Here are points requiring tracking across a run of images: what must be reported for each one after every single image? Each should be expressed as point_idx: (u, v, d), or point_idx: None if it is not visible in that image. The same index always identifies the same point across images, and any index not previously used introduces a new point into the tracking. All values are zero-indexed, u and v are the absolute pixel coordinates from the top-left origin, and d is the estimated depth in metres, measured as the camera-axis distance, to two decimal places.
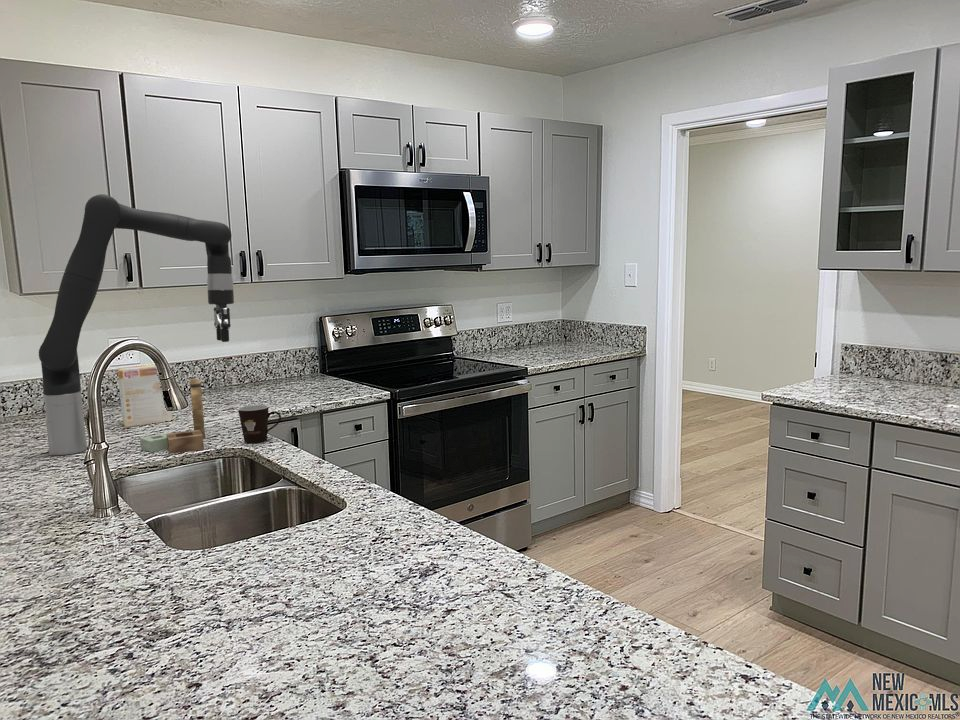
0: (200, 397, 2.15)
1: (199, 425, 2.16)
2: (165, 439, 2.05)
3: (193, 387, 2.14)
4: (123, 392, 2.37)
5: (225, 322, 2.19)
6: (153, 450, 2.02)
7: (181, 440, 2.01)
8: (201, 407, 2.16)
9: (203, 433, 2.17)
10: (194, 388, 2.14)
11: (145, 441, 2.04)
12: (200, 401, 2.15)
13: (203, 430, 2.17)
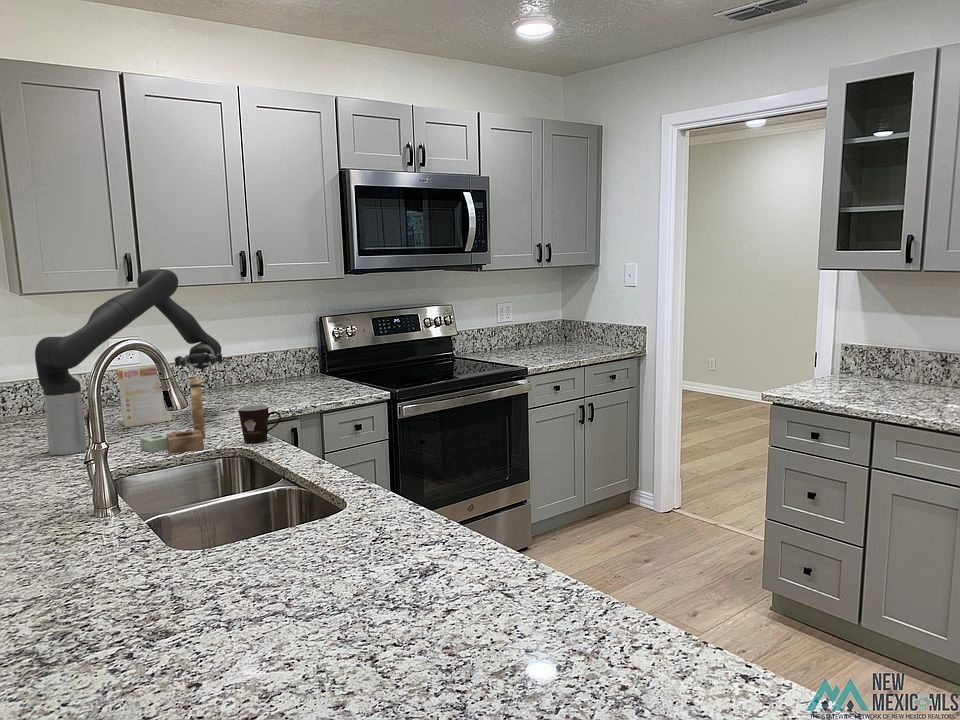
0: (200, 397, 2.15)
1: (199, 425, 2.16)
2: (165, 439, 2.05)
3: (193, 387, 2.14)
4: (123, 392, 2.37)
5: (211, 360, 2.32)
6: (153, 450, 2.02)
7: (181, 440, 2.01)
8: (201, 407, 2.16)
9: (203, 433, 2.17)
10: (194, 388, 2.14)
11: (145, 441, 2.04)
12: (200, 401, 2.15)
13: (203, 430, 2.17)
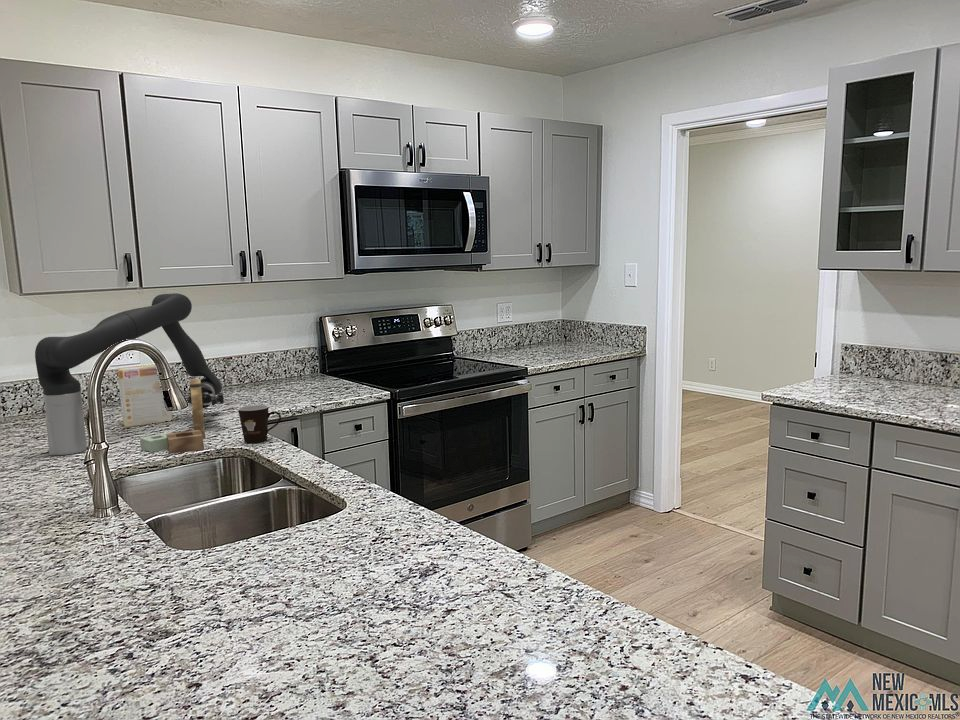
0: (200, 397, 2.15)
1: (199, 425, 2.16)
2: (165, 439, 2.05)
3: (193, 387, 2.14)
4: (123, 392, 2.37)
5: (212, 400, 2.28)
6: (153, 450, 2.02)
7: (181, 440, 2.01)
8: (201, 407, 2.16)
9: (203, 433, 2.17)
10: (194, 388, 2.14)
11: (145, 441, 2.04)
12: (200, 401, 2.15)
13: (203, 430, 2.17)
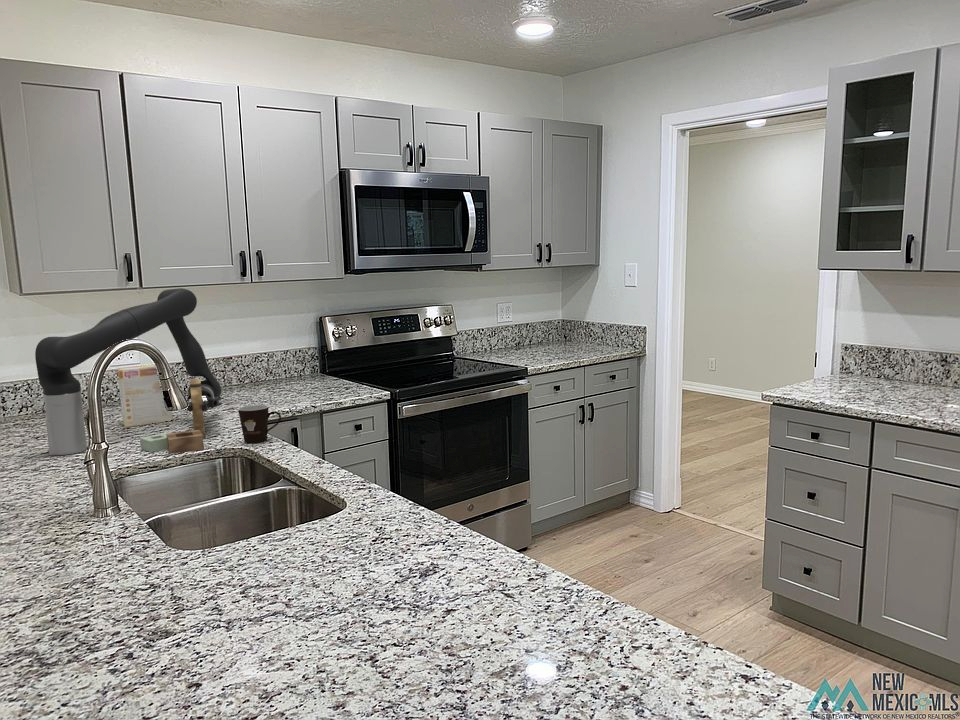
0: (200, 397, 2.15)
1: (199, 425, 2.16)
2: (165, 439, 2.05)
3: (193, 387, 2.14)
4: (123, 392, 2.37)
5: None
6: (153, 450, 2.02)
7: (181, 440, 2.01)
8: (201, 407, 2.16)
9: (203, 433, 2.17)
10: (194, 388, 2.14)
11: (145, 441, 2.04)
12: (200, 401, 2.15)
13: (203, 430, 2.17)
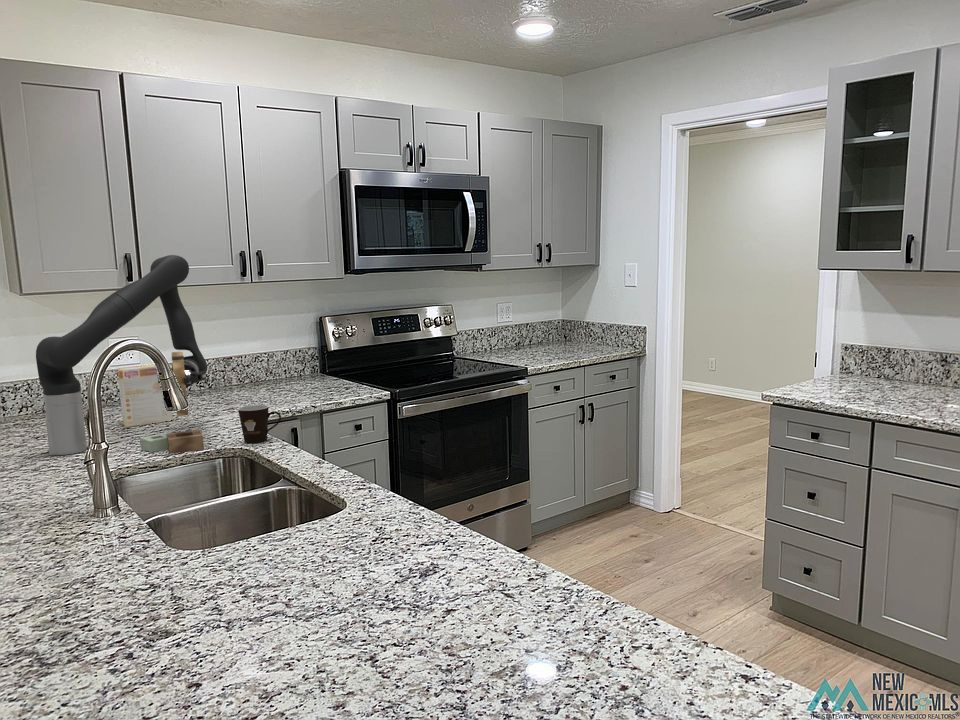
0: (183, 370, 2.02)
1: None
2: (165, 439, 2.05)
3: (175, 360, 2.01)
4: (123, 392, 2.37)
5: None
6: (153, 450, 2.02)
7: (181, 440, 2.01)
8: None
9: (186, 409, 2.04)
10: (176, 361, 2.01)
11: (145, 441, 2.04)
12: (183, 375, 2.02)
13: None
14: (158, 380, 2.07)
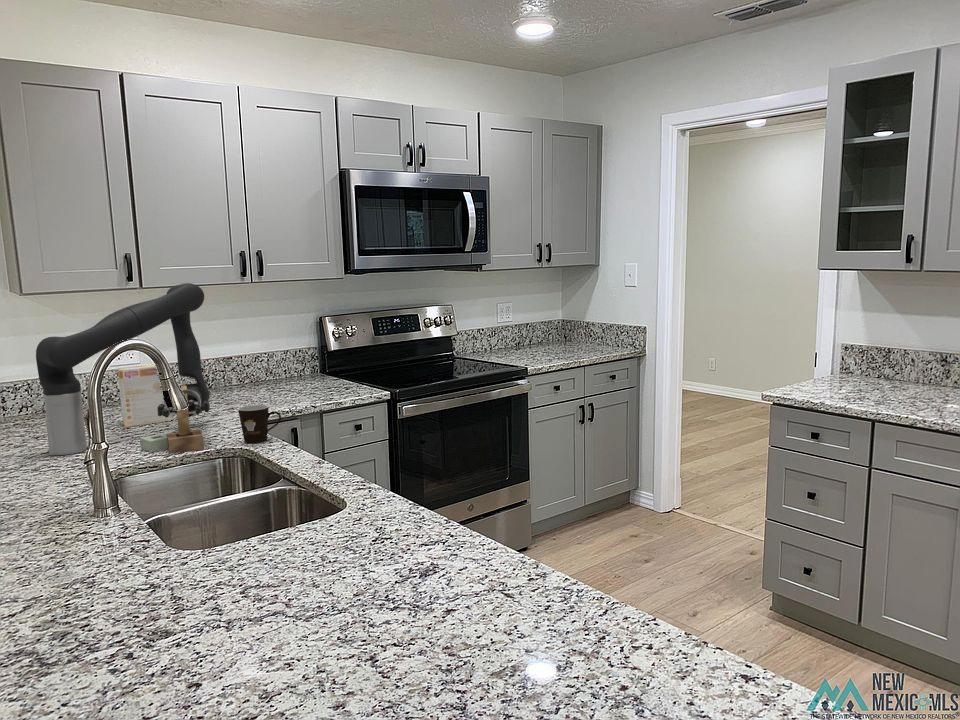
0: None
1: (184, 434, 2.04)
2: (165, 439, 2.05)
3: None
4: (123, 392, 2.37)
5: None
6: (153, 450, 2.02)
7: (181, 440, 2.01)
8: (187, 415, 2.04)
9: None
10: None
11: (145, 441, 2.04)
12: (186, 409, 2.04)
13: None
14: None
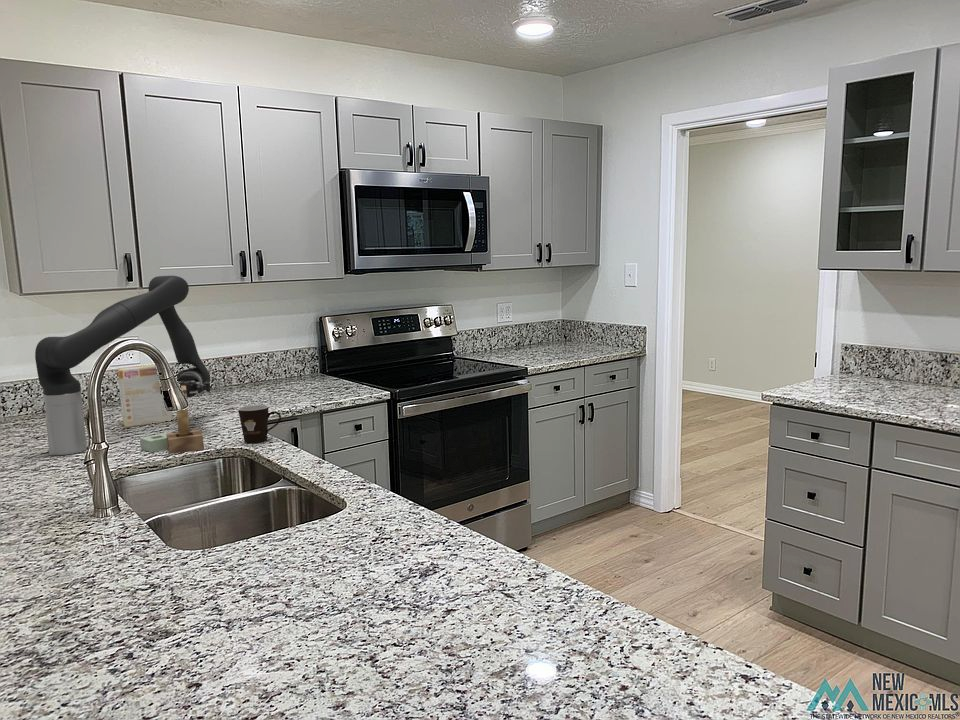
0: None
1: (184, 434, 2.04)
2: (165, 439, 2.05)
3: None
4: (123, 392, 2.37)
5: None
6: (153, 450, 2.02)
7: (181, 440, 2.01)
8: (186, 415, 2.04)
9: None
10: None
11: (145, 441, 2.04)
12: (185, 409, 2.04)
13: None
14: None
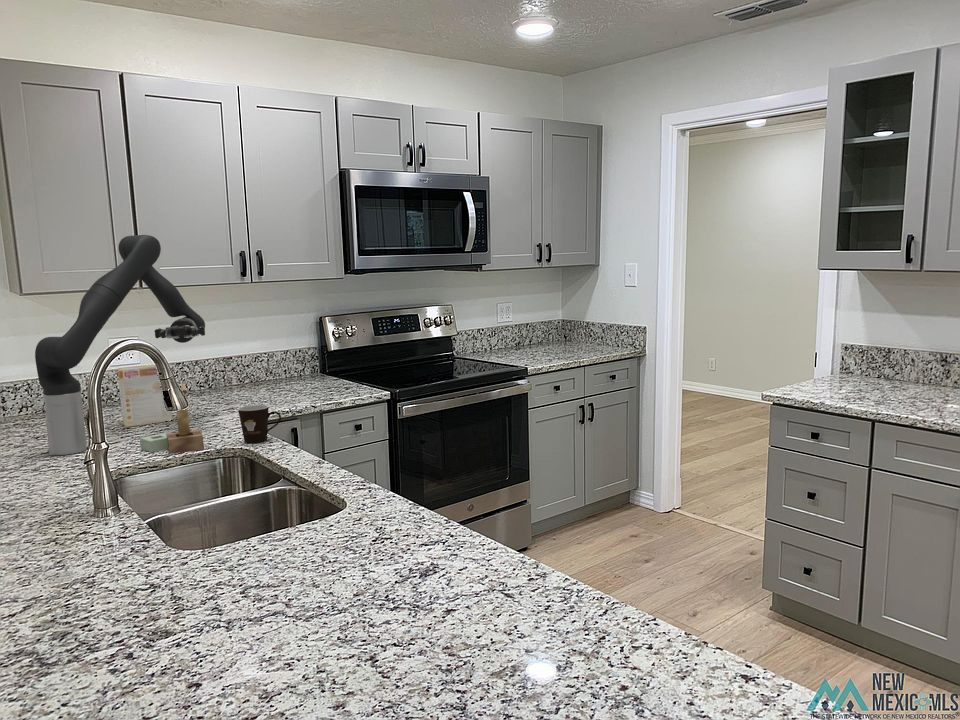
0: None
1: (184, 434, 2.04)
2: (165, 439, 2.05)
3: None
4: (123, 392, 2.37)
5: None
6: (153, 450, 2.02)
7: (181, 440, 2.01)
8: (186, 415, 2.04)
9: None
10: None
11: (145, 441, 2.04)
12: (185, 409, 2.04)
13: None
14: None
